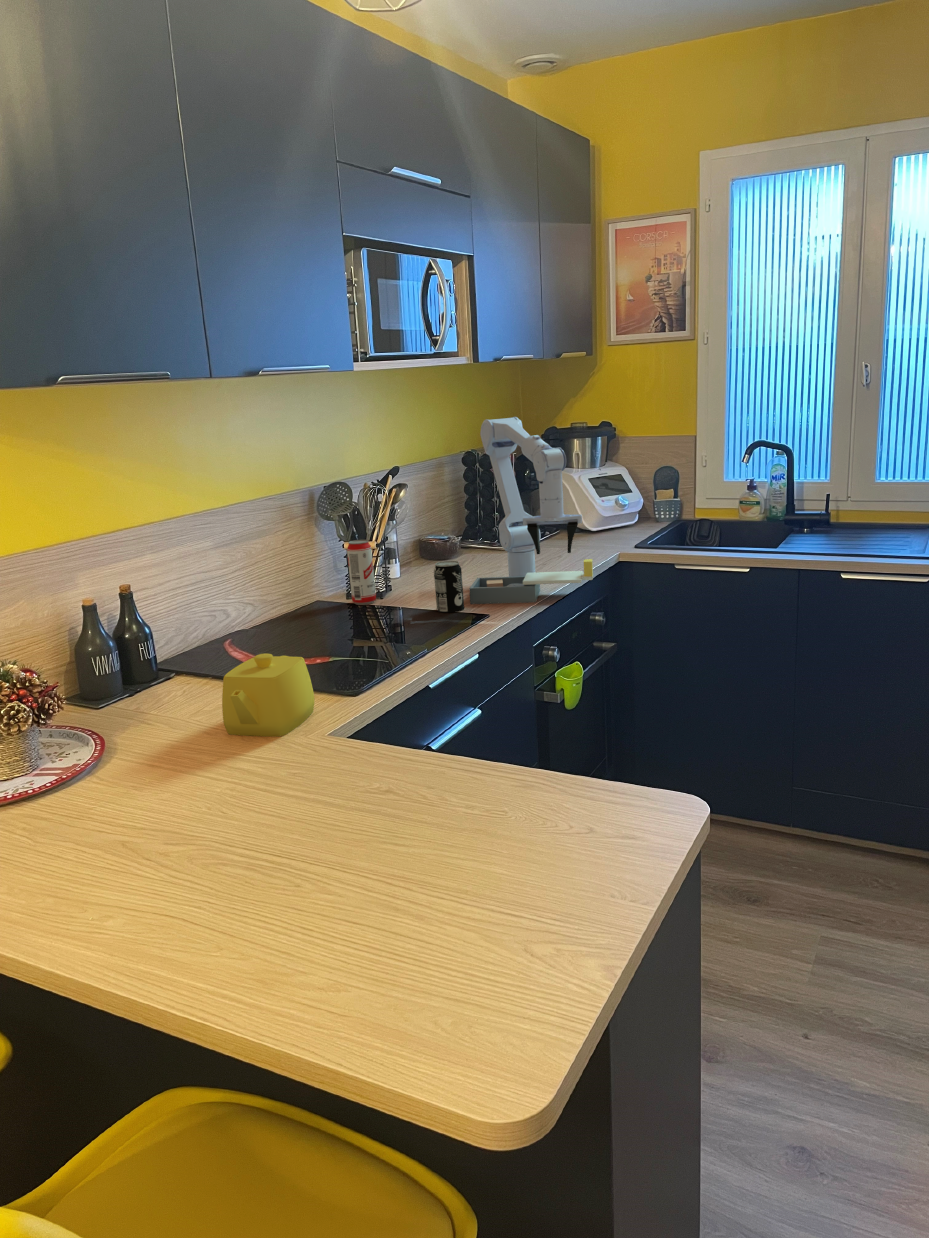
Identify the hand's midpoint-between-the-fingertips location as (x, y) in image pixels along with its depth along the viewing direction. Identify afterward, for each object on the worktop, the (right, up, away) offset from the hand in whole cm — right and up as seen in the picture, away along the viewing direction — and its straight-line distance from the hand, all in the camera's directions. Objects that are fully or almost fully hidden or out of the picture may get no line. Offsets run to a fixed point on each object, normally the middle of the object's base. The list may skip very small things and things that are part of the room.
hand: (553, 552), depth 226 cm
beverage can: (-26, -15, -8) cm, 31 cm away
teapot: (-55, -34, -74) cm, 98 cm away
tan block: (-15, -10, +3) cm, 18 cm away
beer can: (-48, -12, +8) cm, 50 cm away
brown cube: (-9, -12, -3) cm, 15 cm away
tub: (-12, -12, 0) cm, 17 cm away
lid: (+1, -7, -4) cm, 8 cm away
